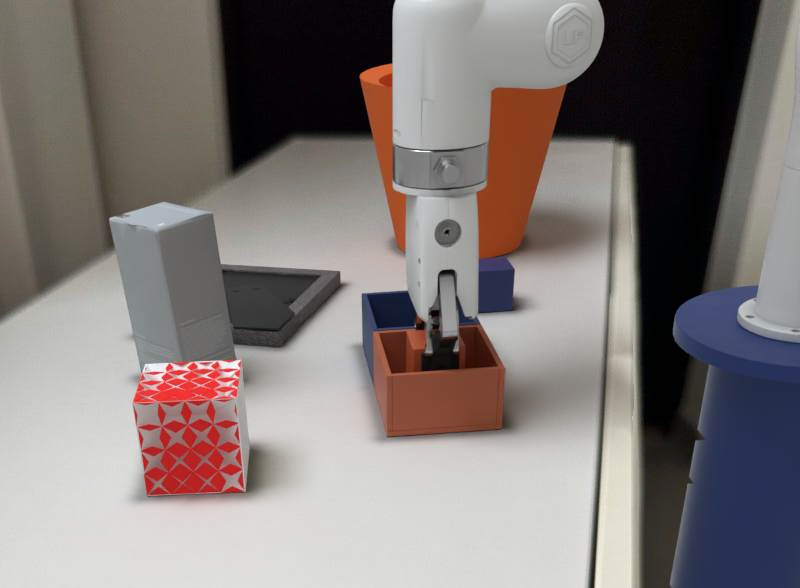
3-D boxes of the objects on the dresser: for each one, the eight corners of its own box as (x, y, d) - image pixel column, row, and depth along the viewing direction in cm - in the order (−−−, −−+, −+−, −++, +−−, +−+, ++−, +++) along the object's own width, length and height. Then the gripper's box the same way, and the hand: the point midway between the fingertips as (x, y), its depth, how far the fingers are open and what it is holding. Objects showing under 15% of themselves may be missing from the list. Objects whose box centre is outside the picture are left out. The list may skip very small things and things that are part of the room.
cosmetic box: (240, 381, 102) (224, 210, 93) (180, 402, 99) (157, 227, 89) (190, 359, 108) (170, 195, 98) (131, 379, 104) (105, 211, 95)
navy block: (503, 297, 119) (506, 256, 116) (512, 310, 115) (515, 268, 113) (464, 300, 119) (466, 259, 116) (471, 313, 115) (473, 271, 112)
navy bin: (458, 340, 109) (460, 286, 105) (478, 380, 100) (480, 323, 97) (362, 346, 108) (361, 293, 105) (373, 387, 100) (372, 330, 96)
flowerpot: (585, 227, 140) (602, 59, 128) (507, 282, 123) (518, 94, 112) (419, 209, 151) (420, 53, 140) (326, 256, 135) (319, 84, 123)
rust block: (454, 376, 96) (456, 327, 93) (463, 395, 92) (465, 345, 90) (405, 379, 96) (406, 330, 93) (412, 398, 92) (413, 349, 90)
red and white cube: (245, 491, 84) (236, 398, 79) (147, 496, 84) (132, 403, 79) (249, 447, 90) (241, 358, 86) (158, 452, 90) (145, 363, 86)
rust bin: (478, 381, 100) (481, 324, 97) (501, 429, 91) (505, 368, 88) (373, 388, 100) (372, 331, 96) (386, 436, 91) (386, 376, 88)
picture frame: (279, 347, 109) (340, 284, 125) (277, 328, 108) (340, 267, 124) (140, 336, 114) (217, 276, 130) (138, 317, 113) (215, 260, 129)
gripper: (509, 188, 77) (495, 422, 87) (468, 142, 90) (460, 349, 101) (406, 194, 76) (405, 427, 87) (381, 147, 90) (382, 354, 101)
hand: (434, 383), depth 94 cm, fingers closed on rust block, 4 cm apart
